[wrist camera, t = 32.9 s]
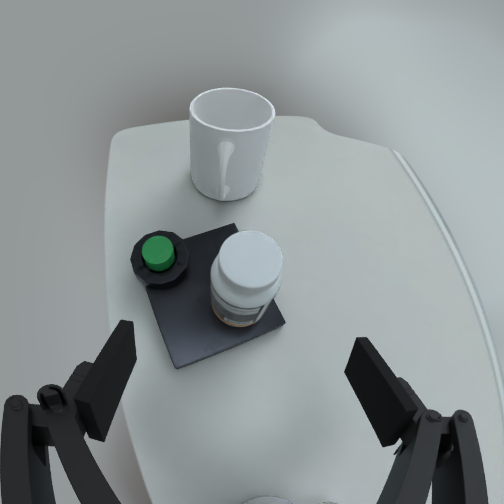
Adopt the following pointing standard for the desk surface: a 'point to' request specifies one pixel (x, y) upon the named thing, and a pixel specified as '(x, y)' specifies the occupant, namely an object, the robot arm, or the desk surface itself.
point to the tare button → (158, 253)
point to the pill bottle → (245, 277)
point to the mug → (228, 141)
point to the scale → (194, 299)
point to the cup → (273, 501)
